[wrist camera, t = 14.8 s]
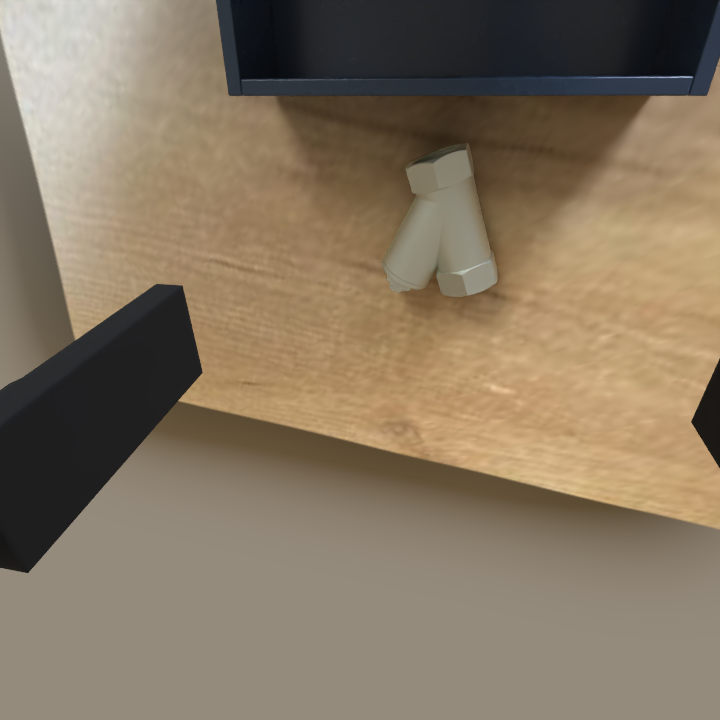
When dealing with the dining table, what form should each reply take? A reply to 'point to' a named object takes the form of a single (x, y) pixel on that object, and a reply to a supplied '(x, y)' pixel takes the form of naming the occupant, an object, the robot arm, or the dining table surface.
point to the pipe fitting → (442, 229)
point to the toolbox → (469, 47)
